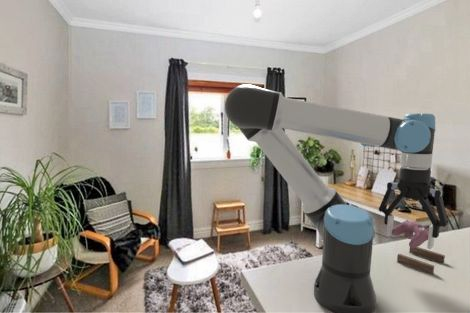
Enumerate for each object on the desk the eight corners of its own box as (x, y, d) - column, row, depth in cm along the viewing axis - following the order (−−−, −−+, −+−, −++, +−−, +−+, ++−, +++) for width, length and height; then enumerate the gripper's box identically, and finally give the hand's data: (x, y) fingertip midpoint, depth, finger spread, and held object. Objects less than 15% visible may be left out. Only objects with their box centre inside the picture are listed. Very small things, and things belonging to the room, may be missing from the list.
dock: (432, 274, 86) (433, 266, 86) (397, 261, 94) (397, 254, 93) (444, 262, 94) (444, 255, 93) (410, 251, 101) (411, 244, 101)
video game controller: (423, 253, 80) (436, 232, 79) (409, 247, 79) (422, 225, 78) (401, 238, 89) (412, 219, 89) (389, 232, 89) (400, 213, 88)
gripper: (468, 171, 75) (459, 251, 78) (380, 162, 92) (375, 227, 95) (461, 175, 70) (452, 259, 73) (369, 164, 88) (365, 232, 90)
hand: (408, 241), depth 84 cm, fingers closed on video game controller, 10 cm apart
